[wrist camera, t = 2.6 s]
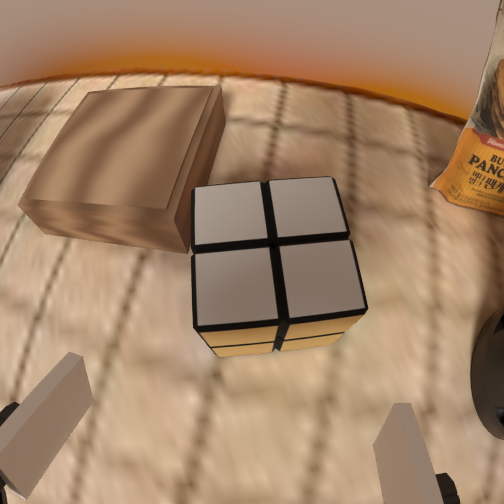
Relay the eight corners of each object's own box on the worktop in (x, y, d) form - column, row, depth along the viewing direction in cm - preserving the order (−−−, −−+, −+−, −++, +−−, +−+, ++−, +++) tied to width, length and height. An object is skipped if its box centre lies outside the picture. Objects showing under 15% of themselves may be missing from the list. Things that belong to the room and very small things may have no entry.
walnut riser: (225, 124, 38) (221, 84, 33) (187, 253, 30) (172, 217, 25) (102, 123, 40) (87, 90, 34) (44, 233, 32) (16, 203, 26)
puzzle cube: (209, 251, 30) (190, 184, 21) (314, 240, 31) (334, 172, 22) (215, 358, 26) (192, 332, 17) (333, 344, 26) (371, 312, 17)
